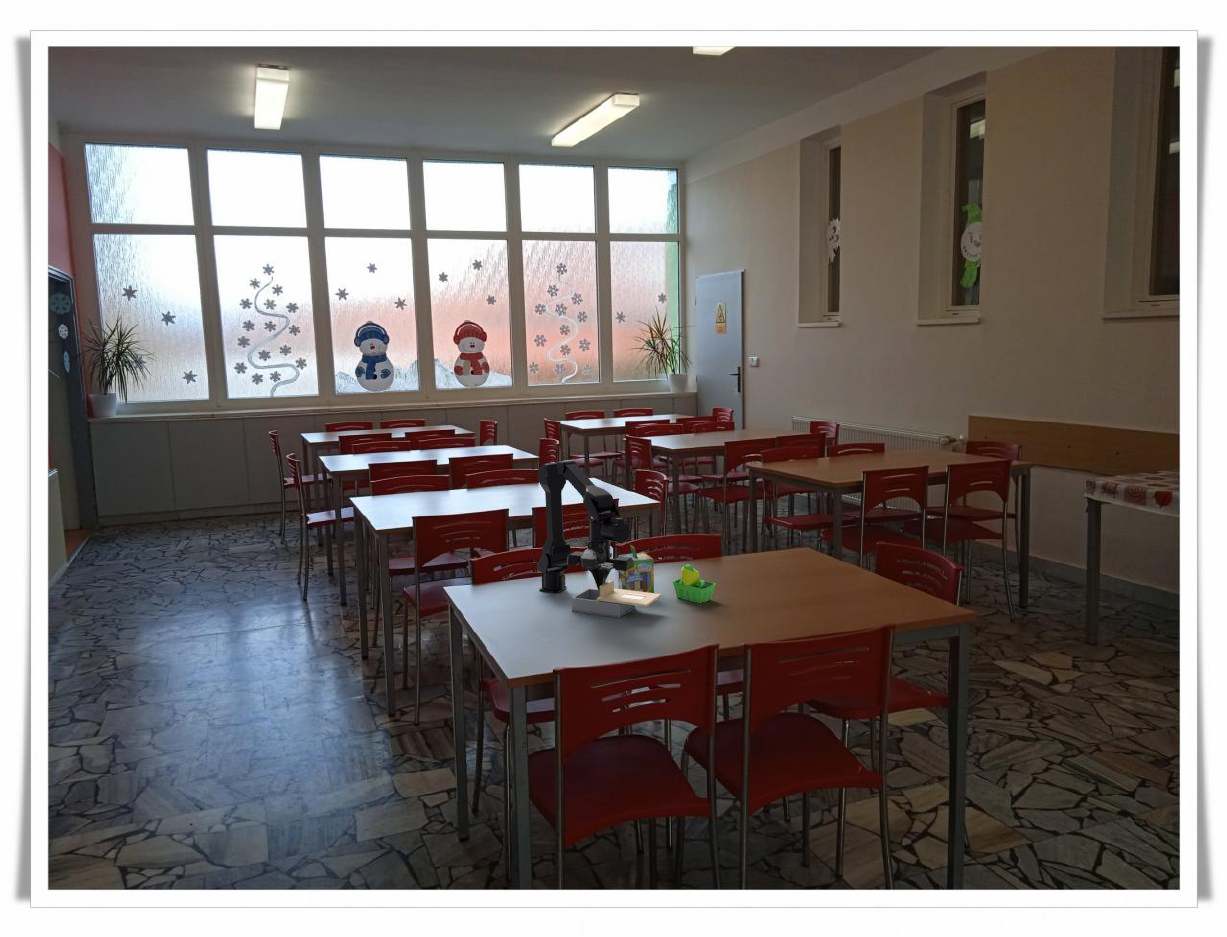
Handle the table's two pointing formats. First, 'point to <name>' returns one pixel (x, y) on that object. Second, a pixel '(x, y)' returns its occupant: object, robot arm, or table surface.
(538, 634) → the table surface
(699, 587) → the fruit basket
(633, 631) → the table surface
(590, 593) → the grey shallow rectangular container
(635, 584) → the chalk box
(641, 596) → the lid
